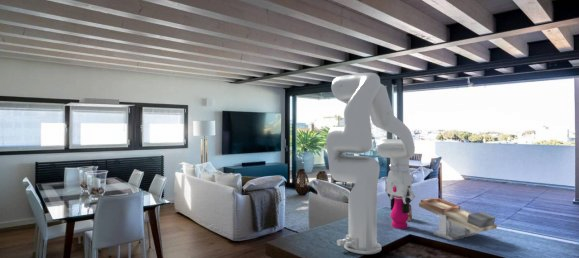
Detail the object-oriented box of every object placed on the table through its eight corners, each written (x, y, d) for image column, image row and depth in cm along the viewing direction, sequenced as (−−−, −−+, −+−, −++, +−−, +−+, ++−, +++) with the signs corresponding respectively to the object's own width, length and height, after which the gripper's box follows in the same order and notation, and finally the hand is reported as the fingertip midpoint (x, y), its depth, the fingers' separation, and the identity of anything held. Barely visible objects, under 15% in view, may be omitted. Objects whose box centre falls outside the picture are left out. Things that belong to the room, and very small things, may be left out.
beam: (476, 232, 115) (478, 220, 115) (418, 206, 137) (420, 195, 137) (496, 228, 121) (498, 216, 120) (438, 203, 143) (439, 193, 142)
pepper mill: (406, 224, 143) (406, 178, 143) (410, 229, 136) (410, 180, 136) (389, 224, 144) (389, 177, 144) (392, 228, 137) (392, 180, 137)
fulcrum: (451, 240, 122) (451, 217, 122) (433, 234, 129) (433, 212, 129) (477, 234, 129) (477, 212, 129) (458, 229, 136) (458, 208, 136)
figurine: (396, 220, 149) (396, 193, 150) (395, 216, 156) (395, 191, 156) (413, 221, 148) (413, 194, 148) (410, 217, 155) (410, 191, 155)
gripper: (378, 167, 146) (378, 208, 146) (409, 171, 131) (409, 217, 131) (391, 166, 150) (391, 206, 149) (422, 170, 134) (422, 214, 134)
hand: (399, 210), depth 140 cm, fingers closed on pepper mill, 5 cm apart
